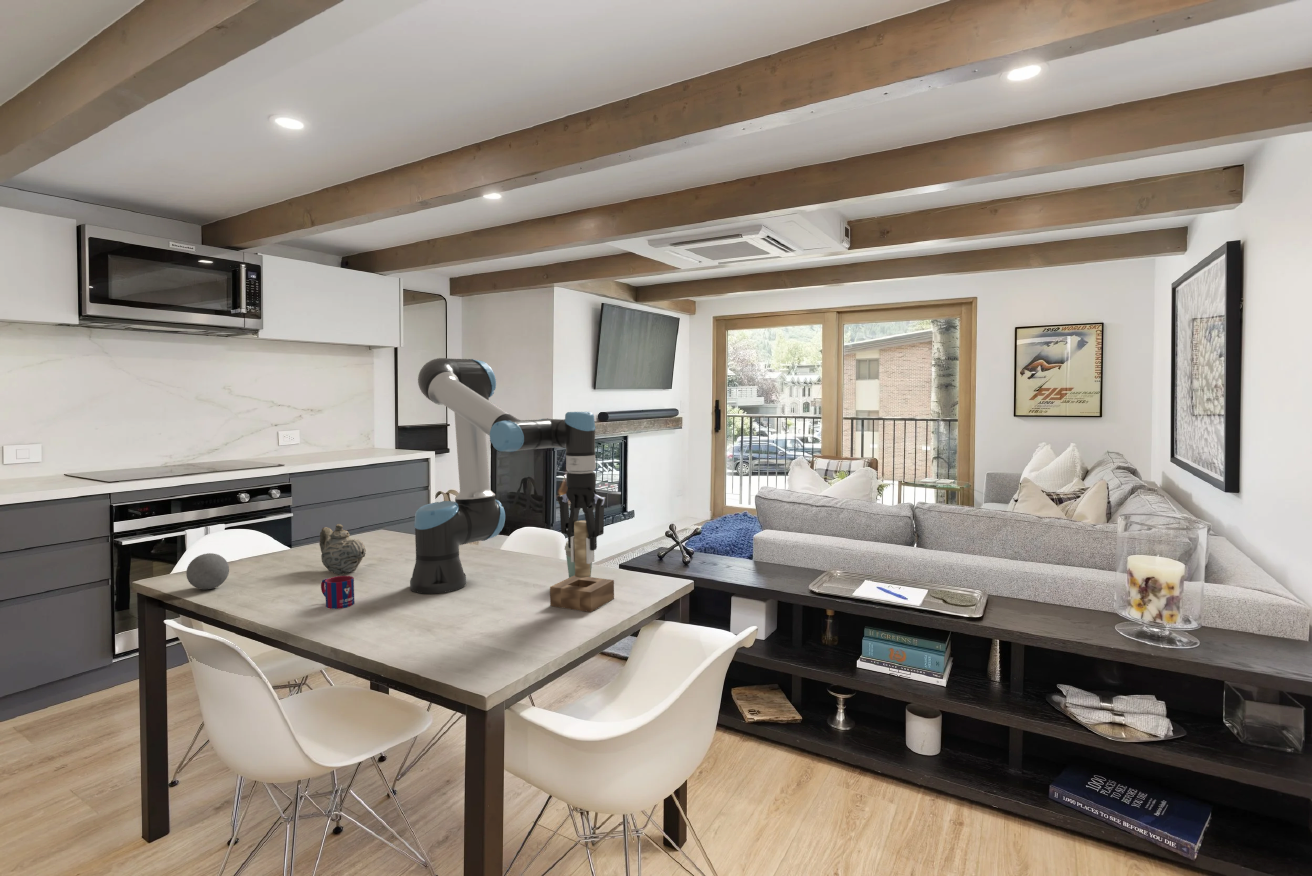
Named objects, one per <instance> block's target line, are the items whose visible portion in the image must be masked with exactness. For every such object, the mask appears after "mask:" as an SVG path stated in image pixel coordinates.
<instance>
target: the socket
mask: <svg viewBox="0 0 1312 876" xmlns="http://www.w3.org/2000/svg"><path fill="white" fill-rule="evenodd" d="M549 597H550V598H549V600H550V601H549V603H550V604H549V605H550V607H554V608H561V609H568V610H574V611H582V612H587V613H593V612H595V610H597V609H599V608H601V607H602V606H604V605H606V604H607V603H609V602H611V601H612V600H614V599H615V580H614V579H608V578H601V577H592V576H591V577H584V578H579V577H575V575H574V576H572V577H570V578H569V577H568V578H566V579H564V580H562V581H559V582H557V583H555V584H553V585H550V586H549Z"/></svg>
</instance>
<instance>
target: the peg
mask: <svg viewBox="0 0 1312 876" xmlns="http://www.w3.org/2000/svg"><path fill="white" fill-rule="evenodd" d="M588 536H589V535H588V530H587V525H586V520H578V521H575V522H574V546H575V577H579V578H584V577H589V576H591V577H592V569H591V570H590V564H587V562H586V538H587V537H588Z"/></svg>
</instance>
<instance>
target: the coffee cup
mask: <svg viewBox="0 0 1312 876" xmlns="http://www.w3.org/2000/svg"><path fill="white" fill-rule="evenodd" d="M564 550H565V555H566V556H565V558H566V564H567V571H568V572H567V573H568V578H570V577H572V576H574V575H575V562H571V548H569V547H568V540H567V541H566V543H565V545H564ZM592 566H593V562H592V563H590V570H591V571H592V568H593V567H592ZM589 577H592V575H591V576H589Z"/></svg>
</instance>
